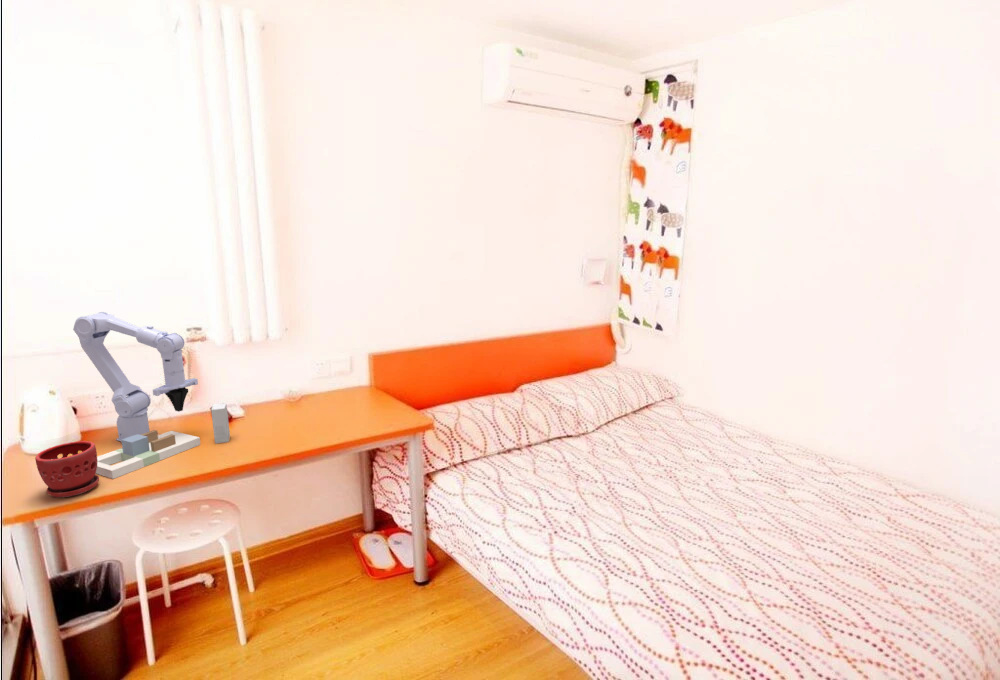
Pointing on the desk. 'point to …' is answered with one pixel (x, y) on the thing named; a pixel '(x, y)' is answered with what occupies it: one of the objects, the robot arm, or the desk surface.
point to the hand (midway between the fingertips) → (179, 410)
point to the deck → (145, 453)
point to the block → (135, 445)
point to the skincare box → (220, 423)
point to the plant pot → (68, 468)
